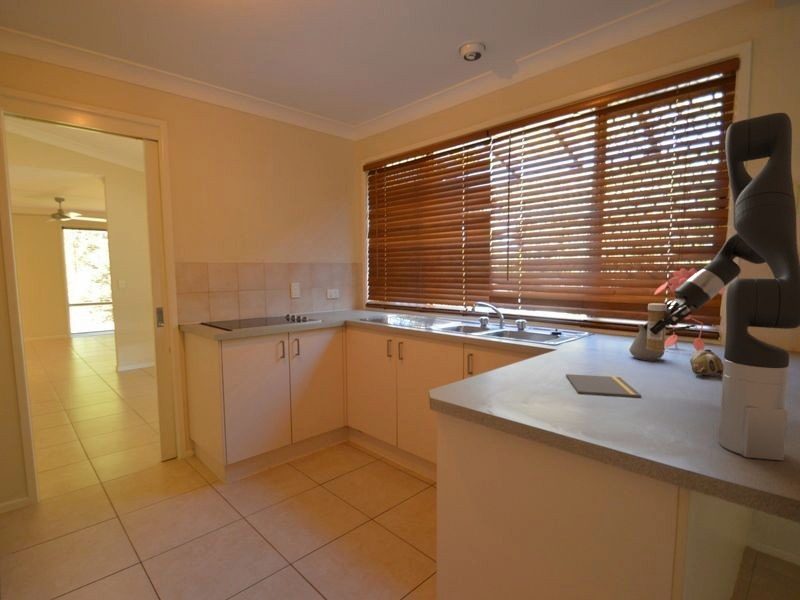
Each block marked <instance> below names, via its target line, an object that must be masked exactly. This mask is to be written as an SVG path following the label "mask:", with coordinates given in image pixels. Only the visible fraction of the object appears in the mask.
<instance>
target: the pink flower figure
mask: <svg viewBox="0 0 800 600" xmlns="http://www.w3.org/2000/svg"><path fill="white" fill-rule="evenodd" d="M672 273H673V276H674V277H670V278H669V279H668V282H666V283H663V284H662V285H660V286H659V287H658V288H657V289H656V290H655V292H654V294H653V295H654V296H656V295H658V294H659V293H661V292H663V291H664V290H665V289H666V288H667V287H668V288H669V289H670V291H671V292H672V293H673V294H674V291H675V290H676V289H677V288H678V287H680V286H681V285H682V284H683V283H684V282H686V281H687V280H688V279H689V278H690V277H692V276H693V275H694V274H696V273H697V270H696V269H695V268H693V267H692V268H690V269H689V270H688V269H686V268H683V267H682V268H680V270H675V271H674V270H673V272H672ZM669 283H670V284H671V285H670V284H669ZM724 291H725V287H723V288H722V289H721V291H720V292H719V293H718V294H719V295H723V294H724ZM684 319H685V320H690V319H691V320H693V321H694V322H697V323H700V324H701V327H700V333H699V335H698V337H696V338H695V339H694V340H693V344H692V345H693V348H694V349H695V350H696V352H697V351H699V350H700V349H703V350H705V346H706V344H705V342H704V340H703V339H702V338H701V335H702V331H703V326H704V323H703V322H701V321H699V320H697V319H694V318H693V317H692V314H690V315H689V316H687V317H685V318H684ZM672 327H673V328H672V329H675V325H673V326H672ZM672 333H673V334H671V335H670V336H669V337H668V338H666V339H665V349H667V348H669V347H671V346H673V345H675V349H677V348H678V345H677V340H678V339H679V338H678V335H677V334H675V332H672ZM665 352H668V353H669V351H668V350H665ZM670 353H672V354H674V351H673V352H671V351H670ZM676 354H678V355H679V354H680V353H679V352H678V353H677V352H676ZM683 355H686V356H689V354H687V353H683Z"/></svg>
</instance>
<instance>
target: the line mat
mask: <svg viewBox="0 0 800 600" xmlns="http://www.w3.org/2000/svg"><path fill="white" fill-rule="evenodd" d="M565 377H566V378H567V379H568V382H570V384H571V385H572V387H573V388H574V390H575V391H576V393H578V394H583V395H584V394H585V395H597V396H599V395H600V396H601V395H602V396H615V397H629V398H631V397H632V398H642V394H640V393H639V392H638V391H637V390H636V389H634V387H632V386H631V385H630V384H629V383H627V382H626V381H625V380H624V379H622V377H620V376H613V375H611V376H604V375H587V374H586V375H584V374H571V373H569V374H565Z"/></svg>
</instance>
